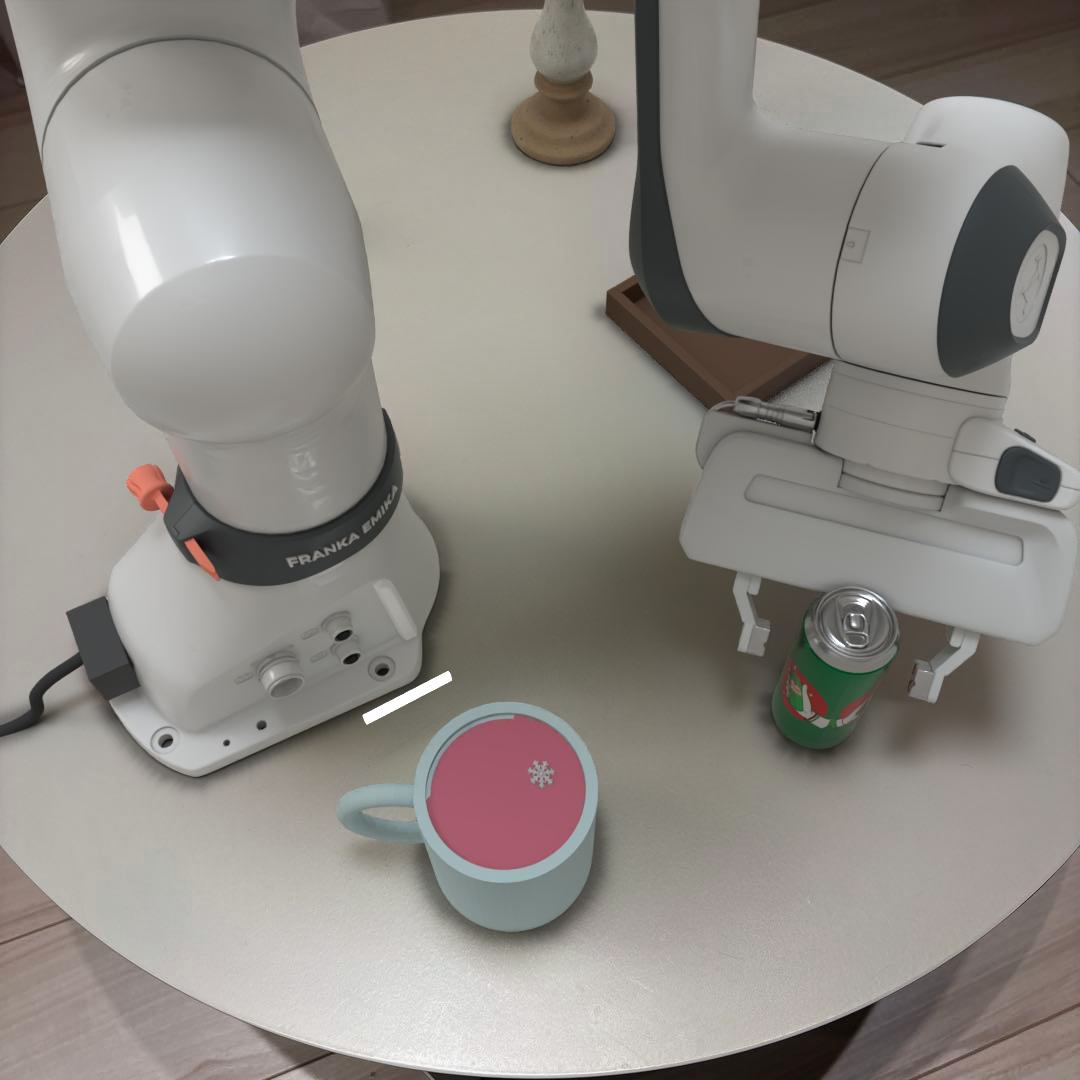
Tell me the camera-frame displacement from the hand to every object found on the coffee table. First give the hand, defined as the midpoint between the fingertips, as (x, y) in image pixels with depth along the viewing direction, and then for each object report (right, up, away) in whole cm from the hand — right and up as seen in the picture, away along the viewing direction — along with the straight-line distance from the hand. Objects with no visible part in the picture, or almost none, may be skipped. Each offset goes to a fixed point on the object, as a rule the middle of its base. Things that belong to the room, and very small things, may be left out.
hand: (834, 673), depth 63 cm
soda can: (0, -3, +6) cm, 7 cm away
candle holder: (-14, +42, +34) cm, 56 cm away
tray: (-1, +24, +22) cm, 33 cm away
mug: (-20, -10, +2) cm, 23 cm away
